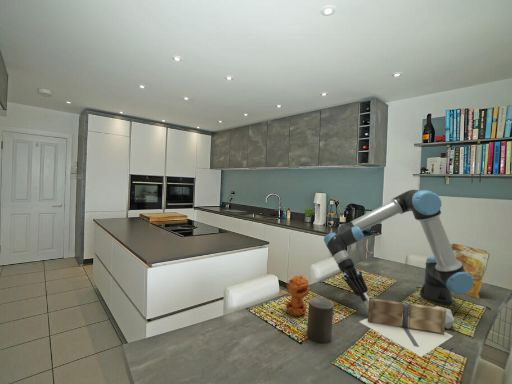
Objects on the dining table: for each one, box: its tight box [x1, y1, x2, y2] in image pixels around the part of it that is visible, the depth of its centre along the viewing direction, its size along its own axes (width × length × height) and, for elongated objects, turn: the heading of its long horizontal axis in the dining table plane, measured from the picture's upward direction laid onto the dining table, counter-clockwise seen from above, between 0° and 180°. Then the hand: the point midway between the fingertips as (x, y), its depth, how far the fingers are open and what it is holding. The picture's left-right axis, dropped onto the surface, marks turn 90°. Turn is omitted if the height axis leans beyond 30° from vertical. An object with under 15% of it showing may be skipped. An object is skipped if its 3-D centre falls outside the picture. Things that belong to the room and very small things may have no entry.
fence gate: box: [367, 298, 404, 327], centre depth 115 cm, size 14×2×10 cm, turn 78°
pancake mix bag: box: [450, 243, 490, 299], centre depth 156 cm, size 7×19×28 cm, turn 24°
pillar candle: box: [306, 297, 334, 344], centre depth 104 cm, size 10×10×15 cm
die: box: [435, 305, 455, 330], centre depth 117 cm, size 8×9×10 cm
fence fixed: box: [402, 302, 447, 335], centre depth 111 cm, size 16×2×10 cm, turn 78°
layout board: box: [358, 315, 454, 359], centre depth 112 cm, size 27×26×1 cm
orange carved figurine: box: [285, 274, 311, 317], centre depth 121 cm, size 11×11×18 cm
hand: (370, 307), depth 119 cm, fingers closed
